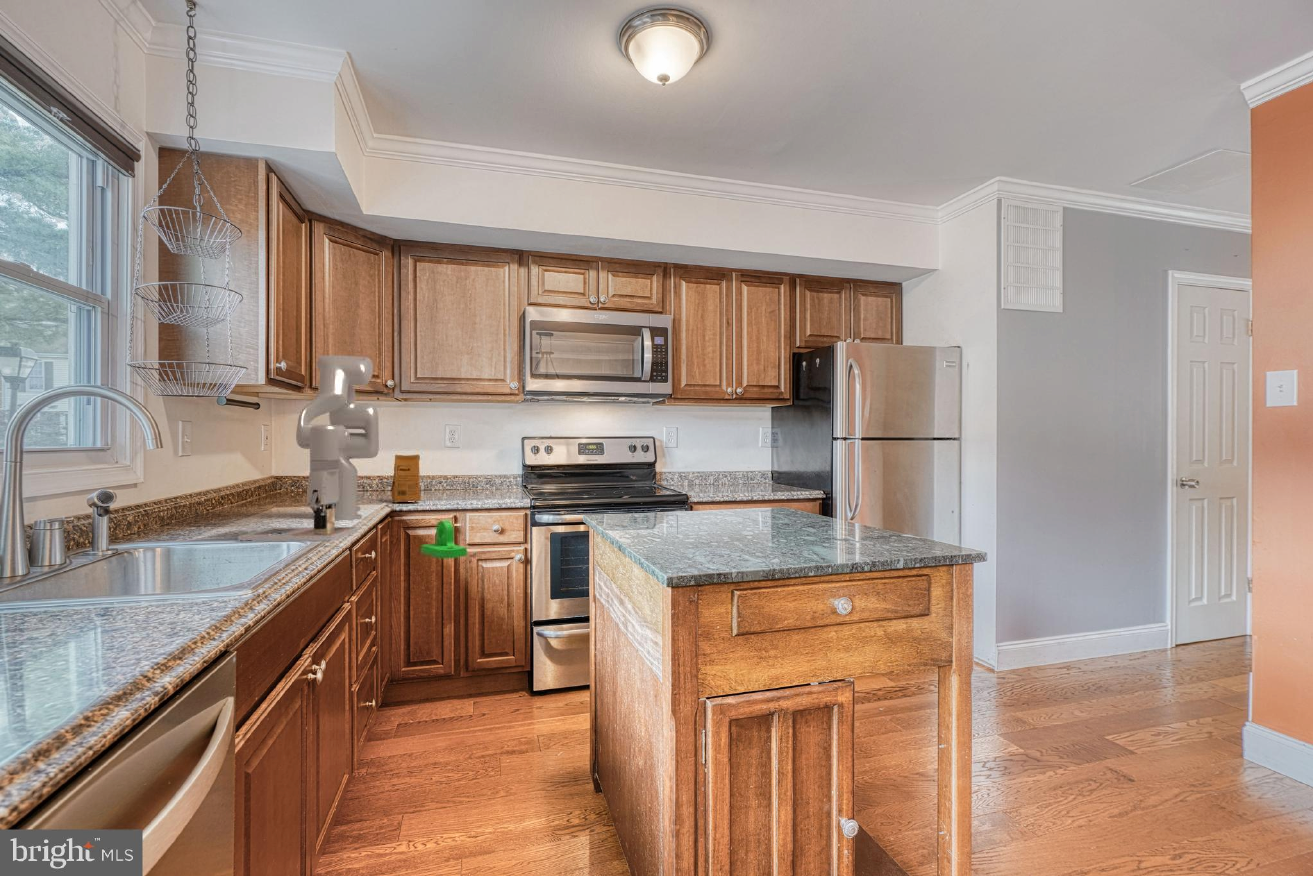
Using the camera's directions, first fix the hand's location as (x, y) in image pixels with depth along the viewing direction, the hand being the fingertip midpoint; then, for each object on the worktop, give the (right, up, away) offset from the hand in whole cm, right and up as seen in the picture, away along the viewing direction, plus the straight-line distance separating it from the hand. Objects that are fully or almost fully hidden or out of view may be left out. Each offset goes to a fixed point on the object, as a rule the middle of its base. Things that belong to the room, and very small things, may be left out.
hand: (324, 527), depth 178 cm
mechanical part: (+45, -3, -27) cm, 53 cm away
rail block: (-7, -3, 0) cm, 8 cm away
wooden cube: (0, -2, 0) cm, 2 cm away
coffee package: (-16, -3, +97) cm, 98 cm away
